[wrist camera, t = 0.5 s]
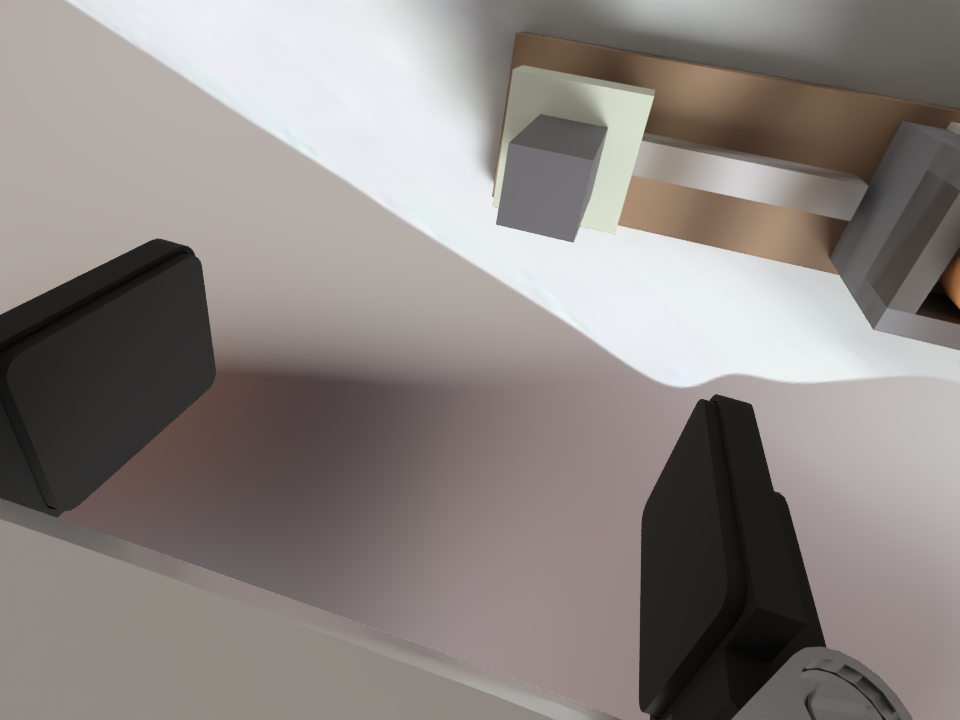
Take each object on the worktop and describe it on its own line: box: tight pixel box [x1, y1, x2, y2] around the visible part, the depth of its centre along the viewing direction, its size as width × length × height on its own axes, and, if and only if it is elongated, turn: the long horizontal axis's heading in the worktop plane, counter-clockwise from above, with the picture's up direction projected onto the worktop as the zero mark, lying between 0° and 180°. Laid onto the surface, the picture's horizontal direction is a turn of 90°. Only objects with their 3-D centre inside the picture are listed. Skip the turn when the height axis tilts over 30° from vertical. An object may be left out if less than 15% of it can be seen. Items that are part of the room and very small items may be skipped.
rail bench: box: [492, 32, 960, 350], centre depth 25 cm, size 25×8×9 cm, turn 83°
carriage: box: [493, 65, 655, 242], centre depth 24 cm, size 6×6×10 cm
